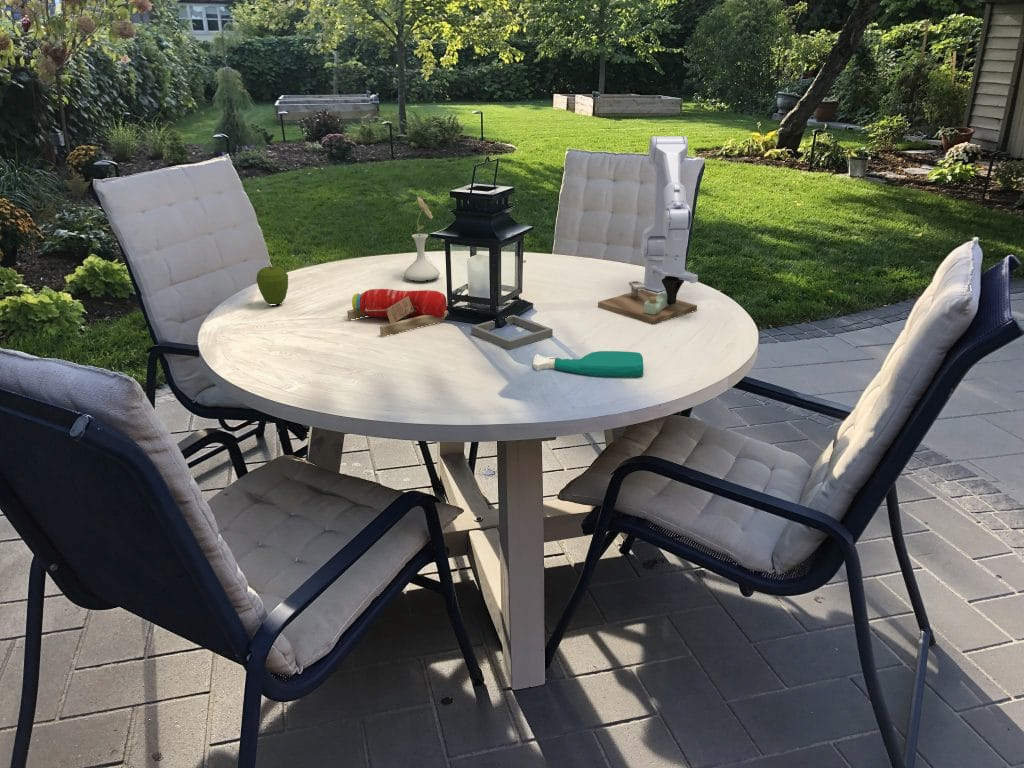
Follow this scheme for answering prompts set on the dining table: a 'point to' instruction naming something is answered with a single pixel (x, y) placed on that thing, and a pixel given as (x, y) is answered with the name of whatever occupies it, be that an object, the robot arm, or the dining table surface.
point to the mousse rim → (539, 334)
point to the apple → (273, 284)
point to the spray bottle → (596, 364)
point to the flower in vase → (421, 254)
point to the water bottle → (400, 303)
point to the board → (635, 305)
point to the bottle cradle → (400, 322)
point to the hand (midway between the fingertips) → (671, 303)
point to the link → (656, 304)
